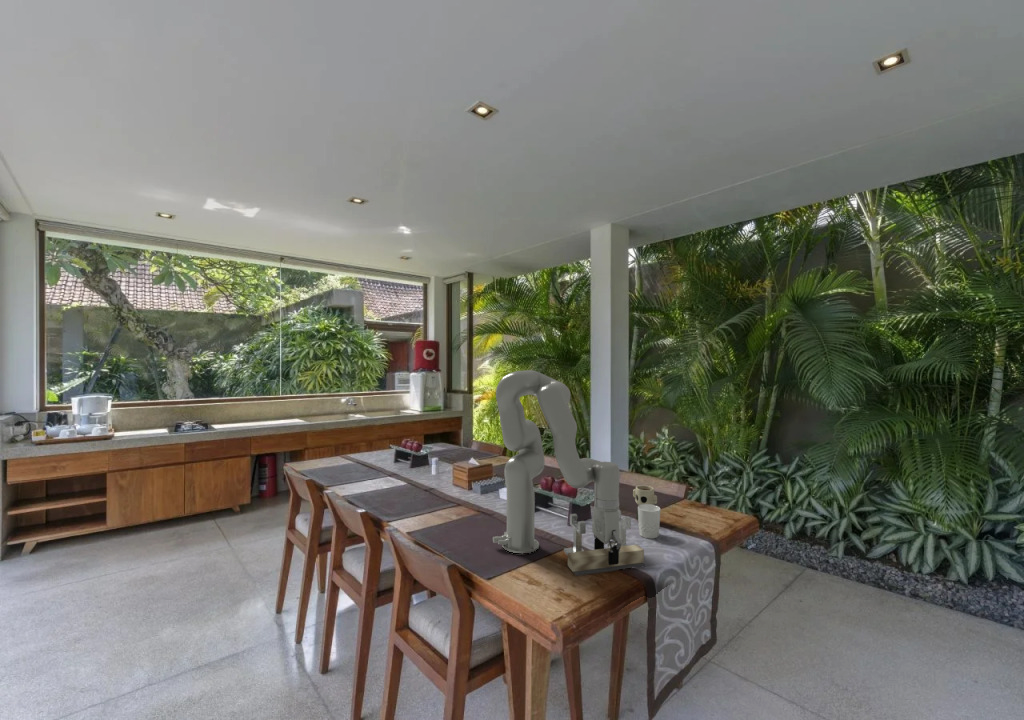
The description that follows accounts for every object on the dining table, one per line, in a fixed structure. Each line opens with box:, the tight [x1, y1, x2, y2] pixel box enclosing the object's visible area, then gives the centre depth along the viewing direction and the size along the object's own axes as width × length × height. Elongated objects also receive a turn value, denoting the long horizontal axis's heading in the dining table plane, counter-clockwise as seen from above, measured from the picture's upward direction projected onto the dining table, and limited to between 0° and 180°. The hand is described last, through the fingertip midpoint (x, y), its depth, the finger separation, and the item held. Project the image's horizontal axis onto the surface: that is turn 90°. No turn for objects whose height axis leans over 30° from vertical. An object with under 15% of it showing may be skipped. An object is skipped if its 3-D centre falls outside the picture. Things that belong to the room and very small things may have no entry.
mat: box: [567, 562, 646, 576], centre depth 146 cm, size 23×7×1 cm, turn 105°
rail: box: [567, 544, 645, 572], centre depth 145 cm, size 24×4×4 cm, turn 105°
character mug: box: [632, 484, 658, 521], centre depth 184 cm, size 11×7×13 cm, turn 39°
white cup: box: [637, 504, 661, 539], centre depth 170 cm, size 8×8×10 cm
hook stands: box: [563, 509, 632, 557], centre depth 154 cm, size 22×9×12 cm, turn 105°
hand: (606, 557), depth 146 cm, fingers open, 9 cm apart
